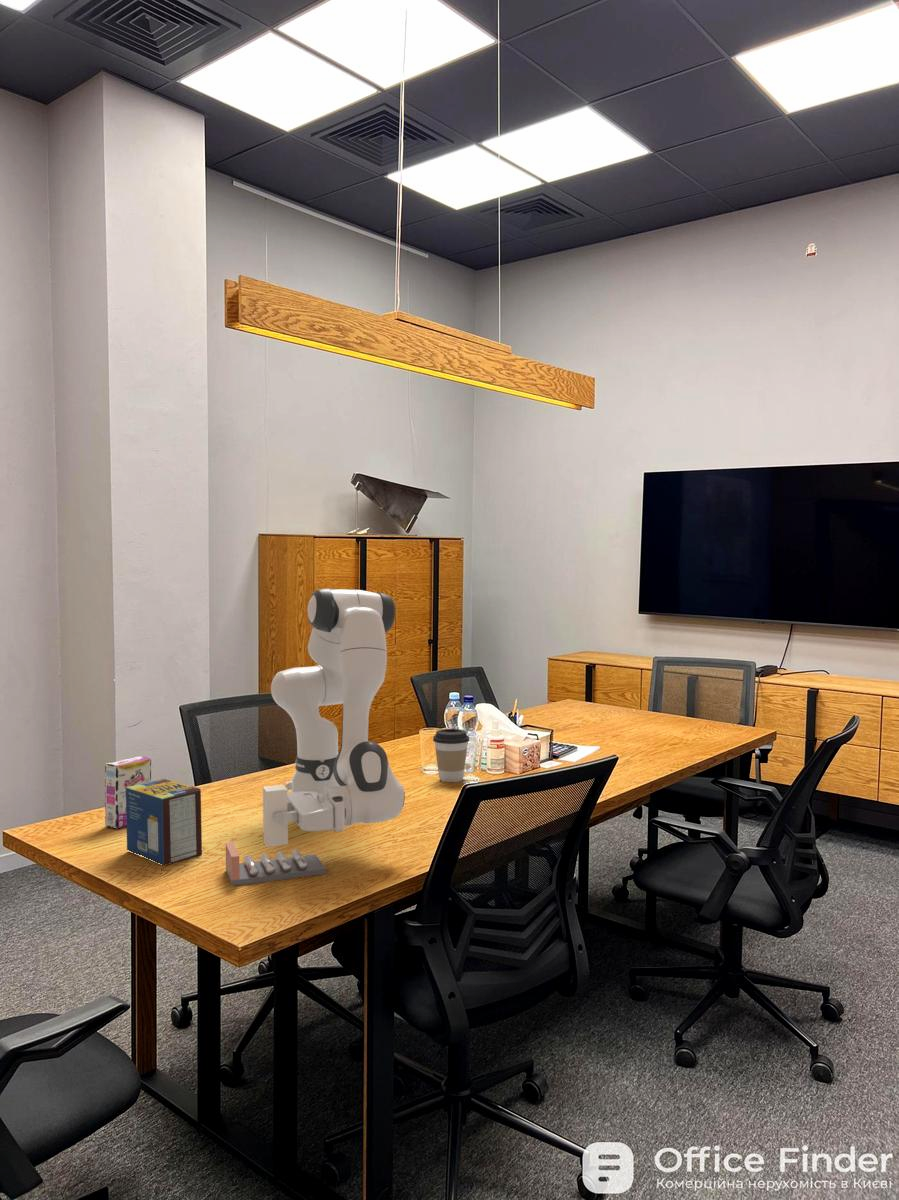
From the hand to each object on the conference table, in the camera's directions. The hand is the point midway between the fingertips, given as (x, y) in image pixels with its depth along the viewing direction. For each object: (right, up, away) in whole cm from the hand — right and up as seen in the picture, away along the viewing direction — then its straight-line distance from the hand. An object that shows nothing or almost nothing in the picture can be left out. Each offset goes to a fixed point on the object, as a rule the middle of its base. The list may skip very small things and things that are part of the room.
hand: (271, 813), depth 195 cm
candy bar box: (-44, -12, +37) cm, 59 cm away
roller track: (+1, -13, +1) cm, 13 cm away
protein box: (-28, -13, +14) cm, 34 cm away
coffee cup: (+39, -9, +82) cm, 92 cm away
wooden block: (+1, -6, +1) cm, 7 cm away
